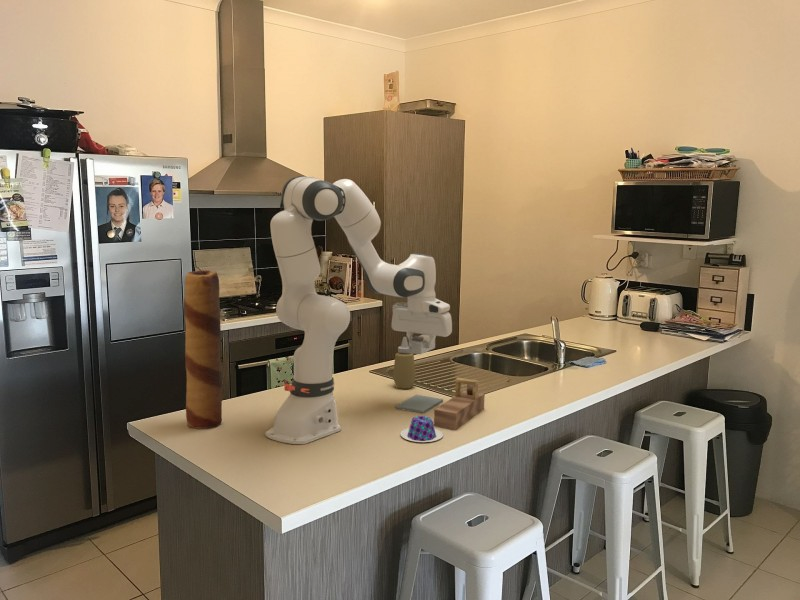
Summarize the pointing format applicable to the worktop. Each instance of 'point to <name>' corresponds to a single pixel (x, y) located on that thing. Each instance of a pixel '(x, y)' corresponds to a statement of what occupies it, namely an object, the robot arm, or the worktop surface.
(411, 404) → the rubber mat
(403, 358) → the squeeze bottle
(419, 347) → the lever cap
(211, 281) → the wafer roll
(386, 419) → the worktop surface
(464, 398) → the brown stand
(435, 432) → the pudding
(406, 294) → the robot arm
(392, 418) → the worktop surface
